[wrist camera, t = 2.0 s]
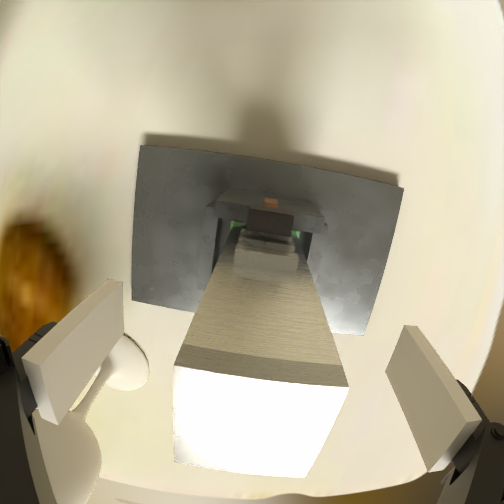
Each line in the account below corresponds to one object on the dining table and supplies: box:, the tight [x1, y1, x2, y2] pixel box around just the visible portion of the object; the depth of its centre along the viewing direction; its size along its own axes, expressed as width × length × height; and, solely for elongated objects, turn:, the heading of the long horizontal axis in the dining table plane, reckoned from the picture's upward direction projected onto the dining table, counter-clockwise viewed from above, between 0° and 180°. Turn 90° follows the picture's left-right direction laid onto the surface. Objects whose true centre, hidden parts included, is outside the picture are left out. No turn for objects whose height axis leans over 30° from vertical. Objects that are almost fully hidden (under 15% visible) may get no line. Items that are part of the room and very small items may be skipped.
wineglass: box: [32, 335, 149, 504], centre depth 22 cm, size 9×9×21 cm
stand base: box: [132, 145, 404, 336], centre depth 23 cm, size 22×14×10 cm, turn 81°
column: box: [173, 220, 349, 478], centre depth 17 cm, size 5×5×19 cm
